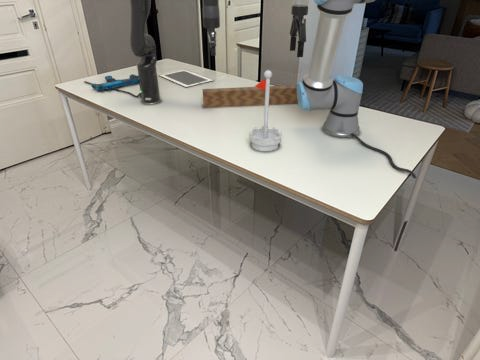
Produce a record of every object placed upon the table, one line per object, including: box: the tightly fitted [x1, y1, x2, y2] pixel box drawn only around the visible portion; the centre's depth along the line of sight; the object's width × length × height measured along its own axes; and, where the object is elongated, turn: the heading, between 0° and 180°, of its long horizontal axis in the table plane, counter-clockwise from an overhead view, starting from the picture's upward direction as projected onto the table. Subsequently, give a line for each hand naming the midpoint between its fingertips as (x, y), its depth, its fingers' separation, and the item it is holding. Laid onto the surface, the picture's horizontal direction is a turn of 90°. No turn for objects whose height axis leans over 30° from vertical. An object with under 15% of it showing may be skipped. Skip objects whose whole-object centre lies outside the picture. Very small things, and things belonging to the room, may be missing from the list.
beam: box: [202, 84, 298, 109], centre depth 176 cm, size 51×5×8 cm, turn 97°
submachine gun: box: [90, 73, 140, 92], centre depth 207 cm, size 34×4×25 cm
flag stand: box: [248, 69, 283, 152], centre depth 130 cm, size 13×13×30 cm
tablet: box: [158, 69, 214, 88], centre depth 216 cm, size 32×20×1 cm, turn 41°
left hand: (212, 53), depth 161 cm, fingers open, 8 cm apart
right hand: (296, 53), depth 166 cm, fingers open, 13 cm apart
